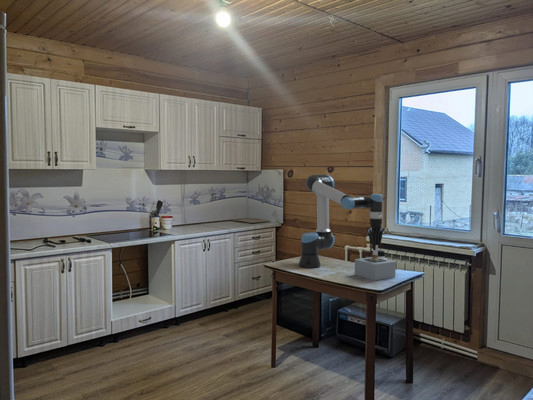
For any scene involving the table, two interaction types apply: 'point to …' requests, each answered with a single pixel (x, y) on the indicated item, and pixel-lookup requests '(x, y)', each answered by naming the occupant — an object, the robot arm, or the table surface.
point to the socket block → (375, 268)
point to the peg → (374, 257)
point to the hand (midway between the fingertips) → (375, 254)
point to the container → (381, 254)
